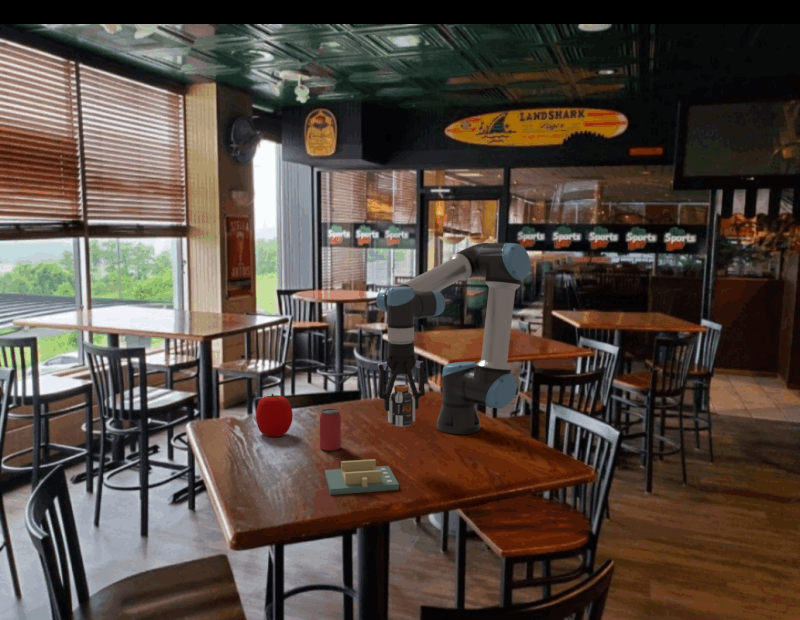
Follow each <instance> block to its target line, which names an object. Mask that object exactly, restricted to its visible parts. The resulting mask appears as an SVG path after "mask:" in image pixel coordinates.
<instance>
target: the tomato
mask: <svg viewBox="0 0 800 620" xmlns="http://www.w3.org/2000/svg"><path fill="white" fill-rule="evenodd" d="M293 413H294V412H293V409H292V406H291V403H290V401H289V400H288V399H287V398H286V397H285V396H283V395H277V394H276V395H275V394H274V393H271V395H263V397H262V398H261V399H260V400H259V401H258V403H257V405H256V411H255V421H256V425H257V428H258V431H259V432H260V433H261V434H262V435H264V436H265V437H270V438H279V437H282V436H284V435H285V434H287V432H288V431H289V430H290V429H291V428H290V427H291V425H292V423H293V418H294V417H293V416H294V415H293Z"/></svg>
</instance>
